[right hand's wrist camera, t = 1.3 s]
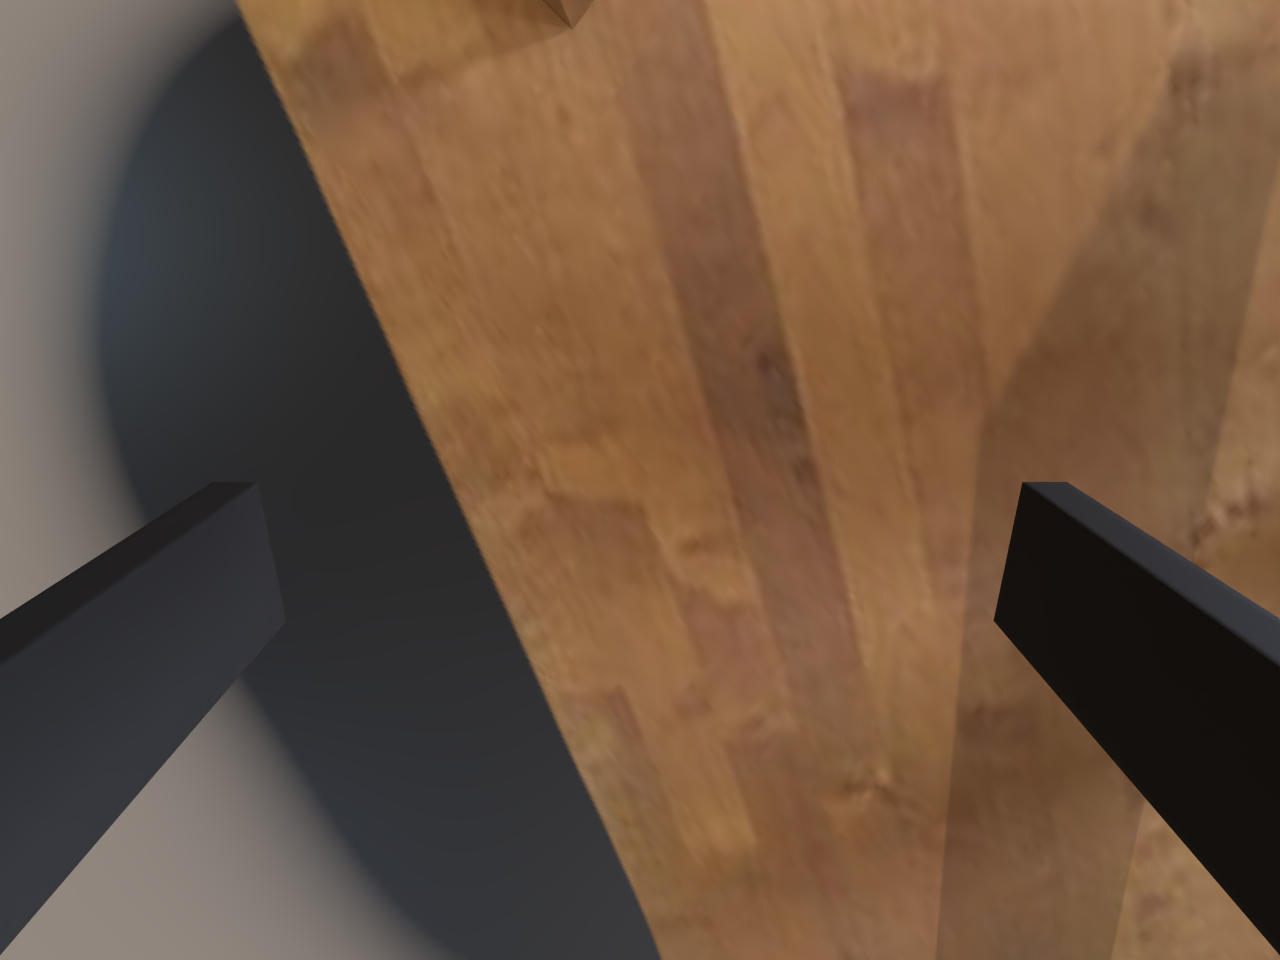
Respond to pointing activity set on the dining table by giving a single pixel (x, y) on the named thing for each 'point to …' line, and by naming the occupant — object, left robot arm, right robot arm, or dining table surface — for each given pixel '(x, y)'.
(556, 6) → the post
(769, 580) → the dining table surface
